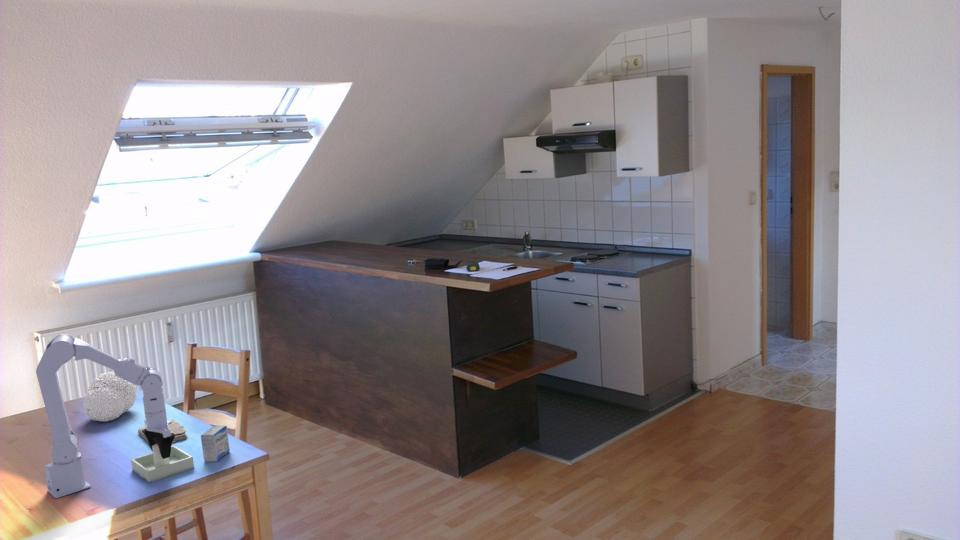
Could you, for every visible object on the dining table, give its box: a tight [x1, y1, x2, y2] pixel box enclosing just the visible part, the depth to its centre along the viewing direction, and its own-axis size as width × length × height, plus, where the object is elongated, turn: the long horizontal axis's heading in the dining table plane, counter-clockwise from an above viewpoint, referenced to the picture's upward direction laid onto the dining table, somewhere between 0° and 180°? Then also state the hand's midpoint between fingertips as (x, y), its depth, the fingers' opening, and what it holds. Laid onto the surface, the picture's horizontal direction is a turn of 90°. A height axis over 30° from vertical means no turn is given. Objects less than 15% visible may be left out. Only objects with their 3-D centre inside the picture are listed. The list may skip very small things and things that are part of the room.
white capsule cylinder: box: [151, 444, 170, 468], centre depth 235 cm, size 4×4×7 cm
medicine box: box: [200, 424, 231, 463], centre depth 242 cm, size 8×4×9 cm, turn 168°
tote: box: [130, 445, 195, 484], centre depth 236 cm, size 13×13×4 cm
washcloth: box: [137, 419, 188, 443], centre depth 263 cm, size 12×18×3 cm, turn 38°
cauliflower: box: [82, 371, 137, 423], centre depth 285 cm, size 20×18×16 cm
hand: (161, 454), depth 235 cm, fingers open, 7 cm apart
